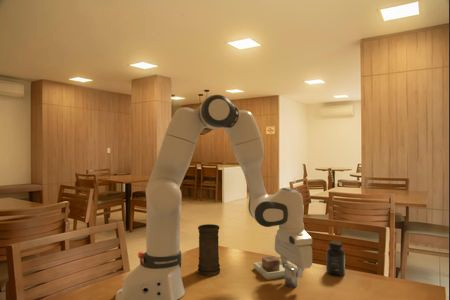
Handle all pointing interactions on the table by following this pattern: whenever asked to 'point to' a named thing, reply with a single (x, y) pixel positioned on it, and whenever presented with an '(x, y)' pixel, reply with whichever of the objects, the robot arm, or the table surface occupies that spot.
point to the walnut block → (270, 264)
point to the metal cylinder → (290, 277)
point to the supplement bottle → (335, 259)
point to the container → (208, 250)
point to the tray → (271, 274)
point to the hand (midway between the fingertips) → (292, 272)
